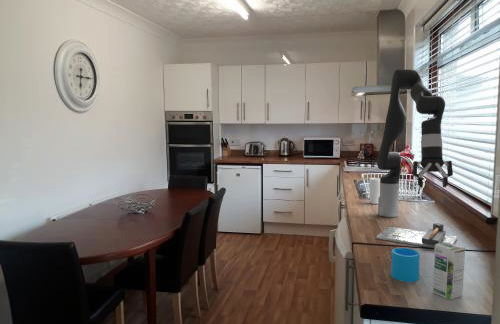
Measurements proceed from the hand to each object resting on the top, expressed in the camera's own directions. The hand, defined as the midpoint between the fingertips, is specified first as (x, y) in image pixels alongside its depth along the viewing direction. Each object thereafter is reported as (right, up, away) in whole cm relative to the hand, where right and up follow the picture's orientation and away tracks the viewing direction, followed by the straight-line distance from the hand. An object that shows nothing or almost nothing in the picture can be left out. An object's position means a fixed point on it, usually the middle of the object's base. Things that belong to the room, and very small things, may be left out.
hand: (432, 187), depth 151 cm
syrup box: (-15, -28, -41) cm, 52 cm away
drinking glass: (+3, -15, +79) cm, 80 cm away
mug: (-22, -27, -27) cm, 44 cm away
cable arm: (+3, -21, +6) cm, 22 cm away
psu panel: (-2, -22, +10) cm, 24 cm away
